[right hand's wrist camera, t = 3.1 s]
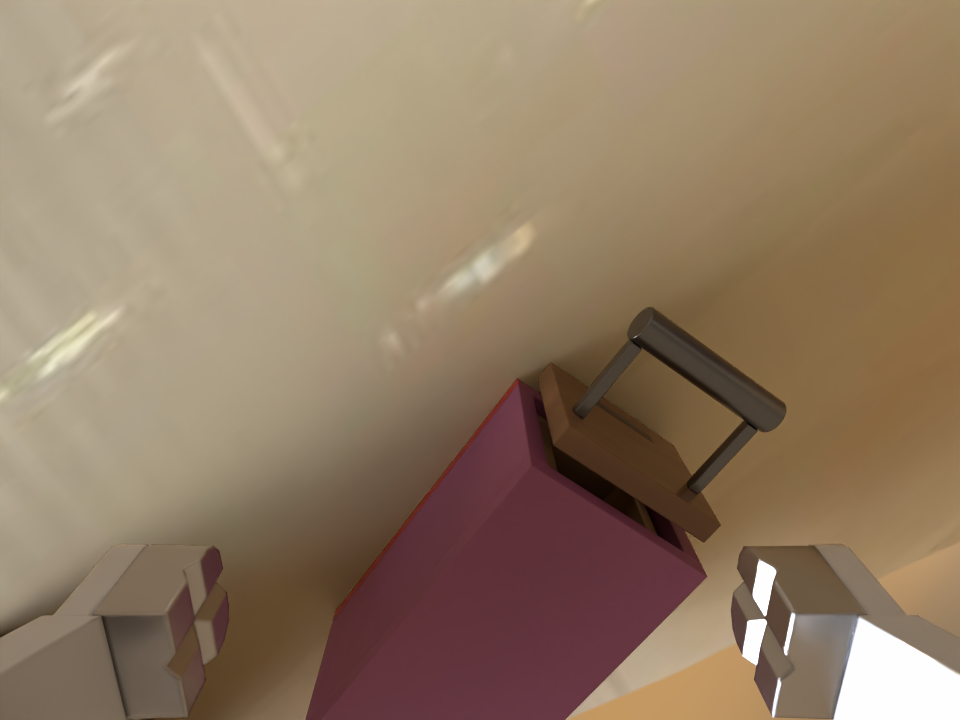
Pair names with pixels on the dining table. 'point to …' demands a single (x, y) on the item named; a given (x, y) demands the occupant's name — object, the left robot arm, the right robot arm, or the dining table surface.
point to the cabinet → (501, 591)
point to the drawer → (636, 449)
